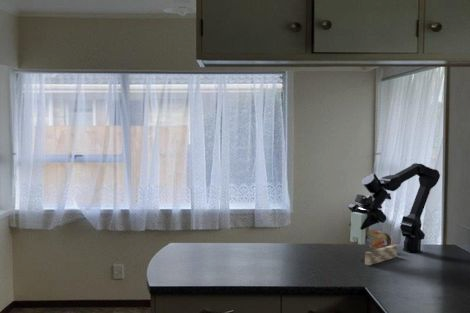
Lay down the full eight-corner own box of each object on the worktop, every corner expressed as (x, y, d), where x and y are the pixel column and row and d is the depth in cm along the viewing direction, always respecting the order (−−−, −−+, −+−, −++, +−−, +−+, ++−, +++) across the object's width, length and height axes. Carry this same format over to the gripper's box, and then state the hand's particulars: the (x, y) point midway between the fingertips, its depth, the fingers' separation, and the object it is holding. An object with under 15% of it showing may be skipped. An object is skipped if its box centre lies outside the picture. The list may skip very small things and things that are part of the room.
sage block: (354, 240, 217) (355, 212, 216) (365, 244, 211) (366, 214, 211) (350, 241, 216) (351, 212, 215) (360, 244, 210) (361, 215, 209)
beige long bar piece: (392, 255, 220) (393, 244, 219) (397, 256, 218) (397, 245, 218) (364, 264, 205) (365, 252, 205) (369, 265, 204) (369, 253, 203)
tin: (364, 245, 238) (365, 228, 238) (369, 245, 239) (370, 227, 239) (386, 253, 225) (387, 234, 224) (391, 252, 226) (392, 234, 225)
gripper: (352, 185, 222) (331, 211, 218) (382, 190, 206) (360, 219, 201) (365, 201, 226) (345, 228, 222) (395, 208, 210) (374, 236, 205)
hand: (355, 227), depth 213 cm, fingers closed on sage block, 6 cm apart
